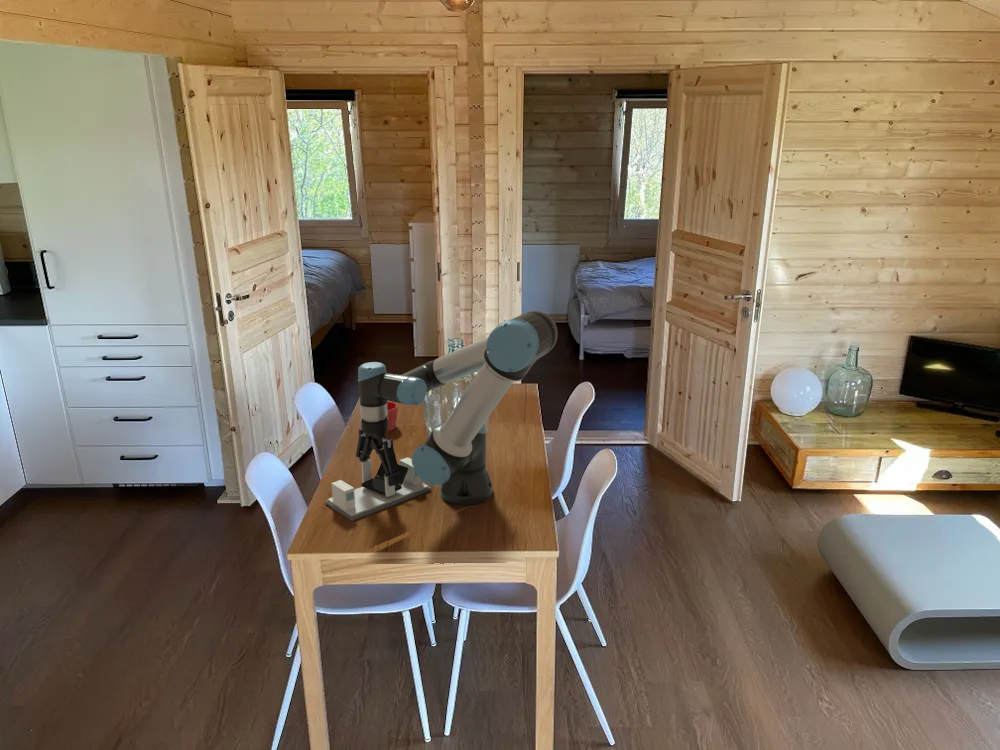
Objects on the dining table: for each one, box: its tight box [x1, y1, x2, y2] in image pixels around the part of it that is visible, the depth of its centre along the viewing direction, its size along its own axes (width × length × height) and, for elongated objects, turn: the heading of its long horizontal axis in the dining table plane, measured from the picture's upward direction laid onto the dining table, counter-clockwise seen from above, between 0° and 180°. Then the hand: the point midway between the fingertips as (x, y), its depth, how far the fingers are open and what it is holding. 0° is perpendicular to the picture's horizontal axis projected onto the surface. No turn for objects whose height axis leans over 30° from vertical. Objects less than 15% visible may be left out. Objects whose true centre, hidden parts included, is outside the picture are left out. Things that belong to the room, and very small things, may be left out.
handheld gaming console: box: [361, 461, 408, 496], centre depth 211 cm, size 11×10×4 cm
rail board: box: [324, 457, 432, 522], centre depth 208 cm, size 14×27×8 cm, turn 133°
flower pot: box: [386, 401, 399, 433], centre depth 257 cm, size 11×11×10 cm
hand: (378, 488), depth 209 cm, fingers closed on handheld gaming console, 11 cm apart
